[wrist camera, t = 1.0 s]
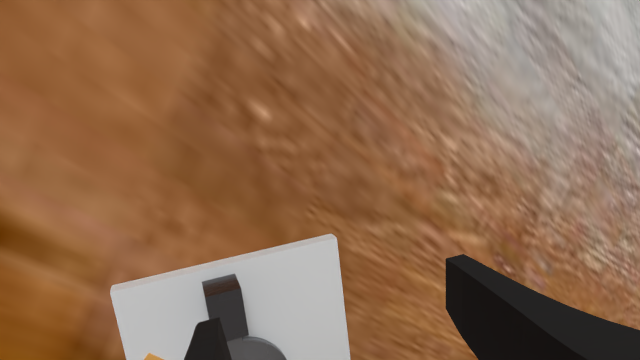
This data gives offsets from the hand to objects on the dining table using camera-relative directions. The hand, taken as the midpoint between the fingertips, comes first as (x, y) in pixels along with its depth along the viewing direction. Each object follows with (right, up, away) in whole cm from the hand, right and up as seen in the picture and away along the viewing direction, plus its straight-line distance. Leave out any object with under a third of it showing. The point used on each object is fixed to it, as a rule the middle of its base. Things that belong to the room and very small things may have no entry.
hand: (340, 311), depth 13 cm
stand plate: (-6, -8, +16) cm, 19 cm away
